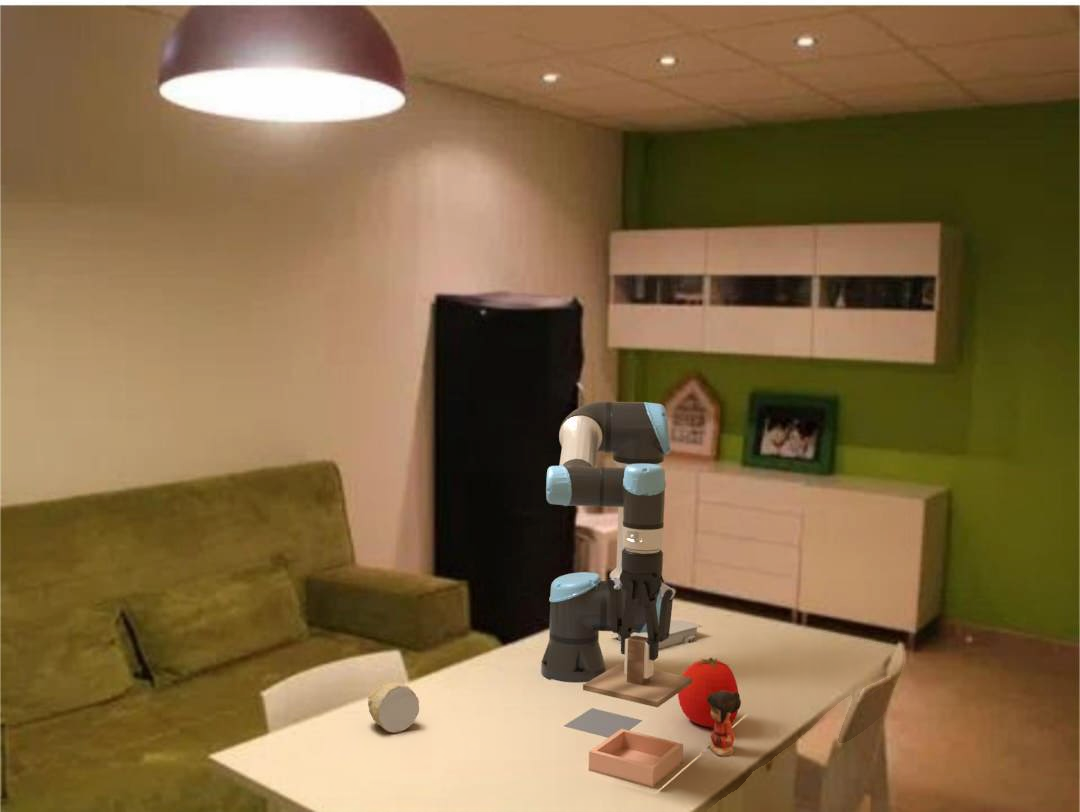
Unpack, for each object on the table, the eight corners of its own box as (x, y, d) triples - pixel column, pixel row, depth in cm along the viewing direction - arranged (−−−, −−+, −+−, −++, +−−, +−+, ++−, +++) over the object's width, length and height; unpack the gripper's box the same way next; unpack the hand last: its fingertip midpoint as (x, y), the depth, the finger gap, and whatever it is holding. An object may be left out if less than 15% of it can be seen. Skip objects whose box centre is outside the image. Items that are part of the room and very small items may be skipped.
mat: (563, 727, 213) (563, 725, 212) (591, 709, 223) (591, 708, 223) (615, 741, 206) (615, 739, 206) (642, 722, 216) (642, 720, 216)
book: (710, 640, 275) (710, 626, 275) (649, 657, 260) (650, 641, 260) (667, 626, 287) (667, 612, 286) (606, 642, 272) (607, 627, 272)
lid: (582, 690, 190) (584, 641, 189) (621, 667, 203) (622, 622, 202) (657, 707, 182) (659, 657, 182) (692, 683, 195) (693, 636, 194)
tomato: (746, 723, 217) (748, 657, 216) (726, 741, 207) (729, 672, 206) (689, 710, 223) (691, 646, 222) (668, 728, 214) (670, 660, 212)
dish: (588, 772, 192) (589, 751, 191) (620, 748, 203) (621, 728, 202) (652, 790, 185) (653, 768, 185) (682, 764, 196) (683, 744, 196)
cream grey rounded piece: (379, 709, 202) (364, 674, 210) (376, 746, 207) (362, 711, 215) (426, 698, 206) (410, 664, 214) (422, 735, 211) (406, 701, 219)
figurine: (716, 741, 207) (718, 682, 206) (741, 749, 204) (744, 689, 203) (700, 751, 202) (702, 691, 201) (725, 759, 199) (728, 698, 198)
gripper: (593, 546, 192) (590, 671, 193) (674, 558, 183) (670, 688, 185) (612, 539, 198) (609, 660, 200) (691, 551, 189) (687, 677, 191)
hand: (638, 673), depth 192 cm, fingers closed on lid, 3 cm apart
